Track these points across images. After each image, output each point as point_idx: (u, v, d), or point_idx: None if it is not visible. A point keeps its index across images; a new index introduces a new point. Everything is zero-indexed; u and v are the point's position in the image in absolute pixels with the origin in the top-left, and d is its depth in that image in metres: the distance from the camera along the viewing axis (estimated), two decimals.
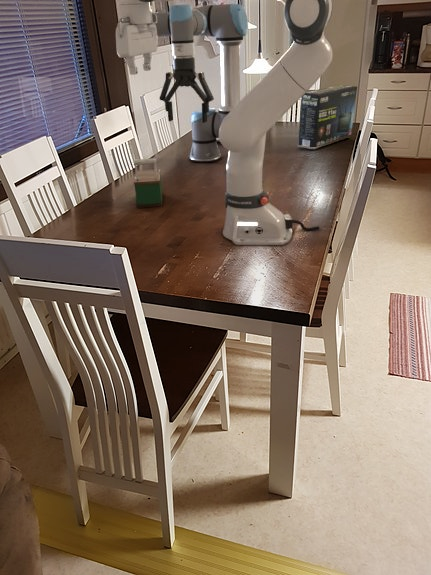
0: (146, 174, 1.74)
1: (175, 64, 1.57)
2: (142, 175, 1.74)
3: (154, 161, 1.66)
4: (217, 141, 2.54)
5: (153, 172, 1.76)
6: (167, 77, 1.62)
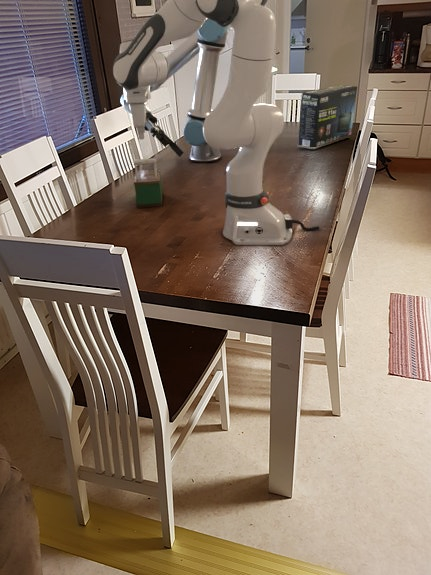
0: (146, 174, 1.74)
1: None
2: (142, 175, 1.74)
3: (154, 161, 1.66)
4: None
5: (153, 172, 1.76)
6: None
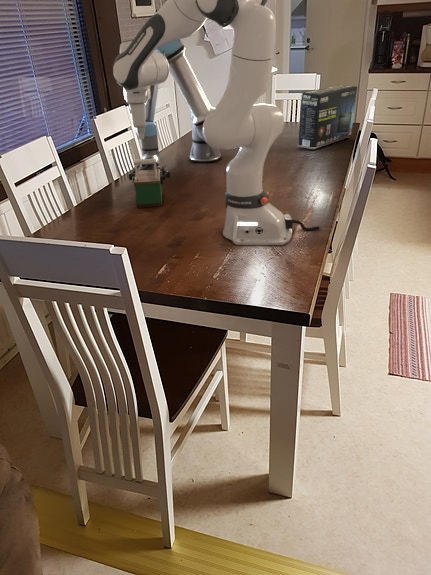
0: (146, 174, 1.74)
1: None
2: (142, 175, 1.74)
3: (154, 161, 1.66)
4: None
5: (153, 172, 1.76)
6: None
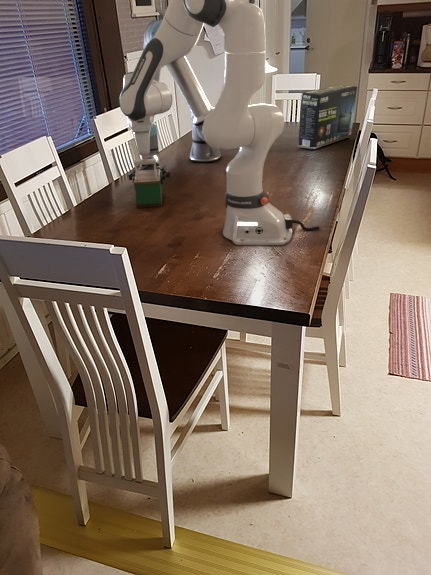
0: (146, 174, 1.75)
1: None
2: (142, 175, 1.74)
3: (154, 161, 1.66)
4: None
5: (153, 172, 1.76)
6: None
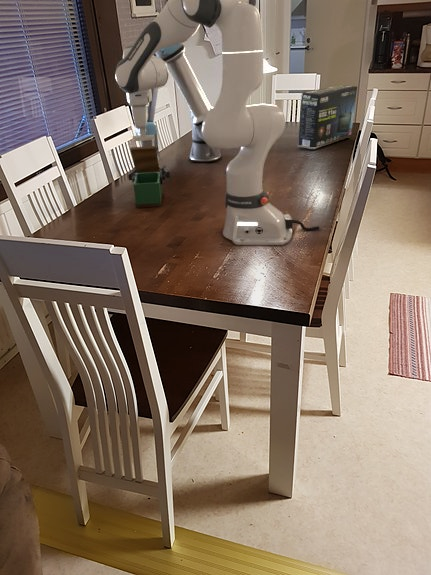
0: None
1: None
2: None
3: (152, 135, 1.71)
4: None
5: None
6: None
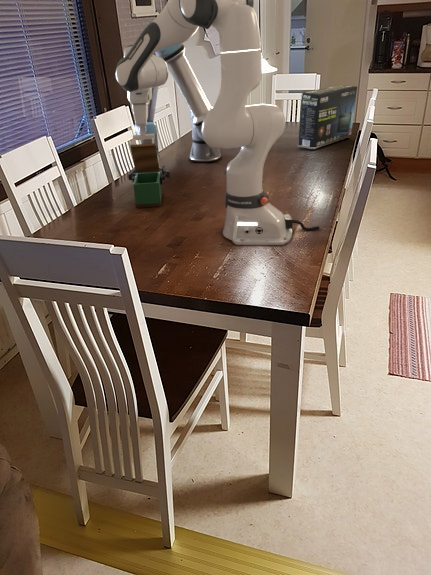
0: None
1: None
2: None
3: (152, 134, 1.72)
4: None
5: None
6: None
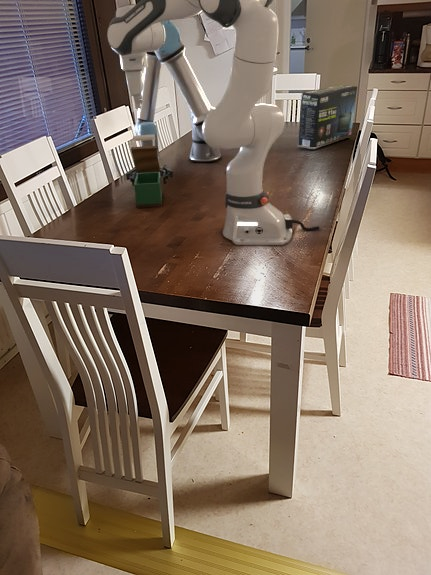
0: None
1: None
2: None
3: (153, 135, 1.71)
4: None
5: None
6: None
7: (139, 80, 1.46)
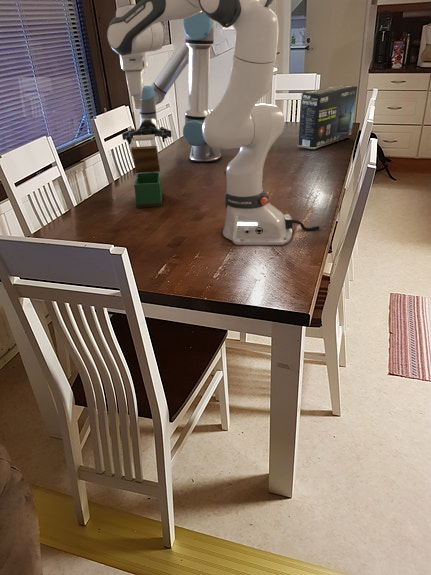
0: None
1: None
2: None
3: (153, 135, 1.71)
4: None
5: None
6: None
7: (139, 80, 1.46)
